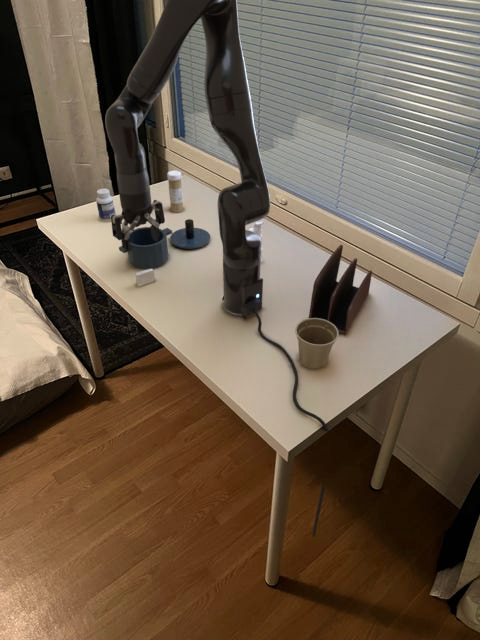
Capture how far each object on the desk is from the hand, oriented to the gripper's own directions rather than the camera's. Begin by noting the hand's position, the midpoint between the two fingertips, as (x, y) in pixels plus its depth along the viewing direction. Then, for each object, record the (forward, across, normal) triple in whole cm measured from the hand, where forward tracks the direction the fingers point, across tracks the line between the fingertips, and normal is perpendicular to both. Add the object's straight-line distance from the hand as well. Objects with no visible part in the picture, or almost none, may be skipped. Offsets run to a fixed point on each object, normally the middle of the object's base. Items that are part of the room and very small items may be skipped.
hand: (141, 244), depth 131 cm
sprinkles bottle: (+12, -33, -30) cm, 46 cm away
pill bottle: (+12, -12, -41) cm, 44 cm away
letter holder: (+12, -30, +44) cm, 55 cm away
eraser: (+12, +1, 0) cm, 12 cm away
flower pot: (+11, -10, +52) cm, 55 cm away
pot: (+12, -7, -10) cm, 17 cm away
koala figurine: (+12, -30, +12) cm, 34 cm away
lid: (+11, -23, -10) cm, 28 cm away
